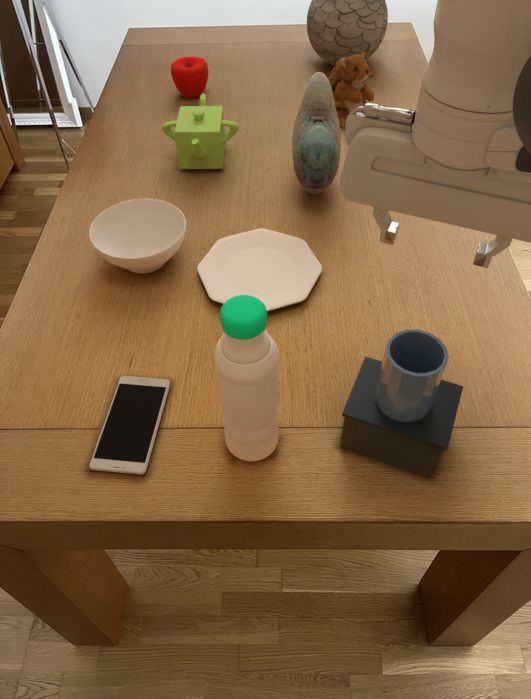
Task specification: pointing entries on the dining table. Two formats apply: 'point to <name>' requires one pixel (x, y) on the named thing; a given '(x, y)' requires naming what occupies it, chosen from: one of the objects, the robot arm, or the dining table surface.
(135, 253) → the bowl
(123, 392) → the smartphone
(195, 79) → the apple
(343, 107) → the stuffed squirrel
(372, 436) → the container
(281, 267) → the plate
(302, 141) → the decorative stone
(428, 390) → the cup
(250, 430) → the water bottle
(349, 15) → the decorative sphere
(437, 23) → the robot arm
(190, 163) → the teapot
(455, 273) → the dining table surface
